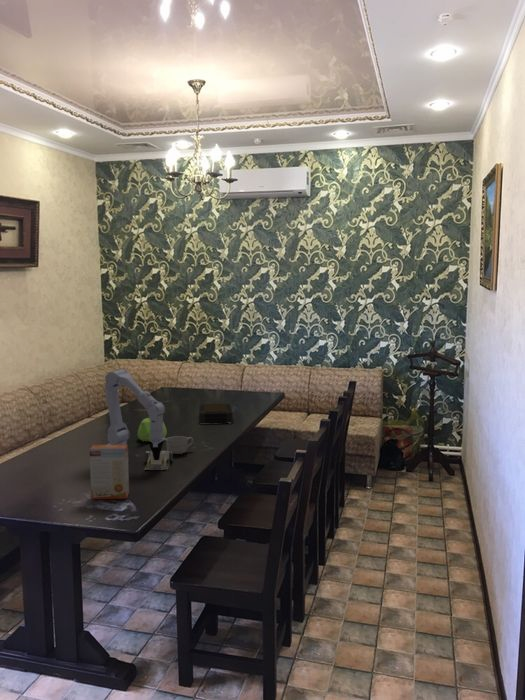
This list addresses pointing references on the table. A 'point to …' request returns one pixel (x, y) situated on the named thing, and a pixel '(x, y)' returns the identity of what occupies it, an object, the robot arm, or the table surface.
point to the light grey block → (157, 460)
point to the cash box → (215, 413)
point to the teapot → (147, 430)
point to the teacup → (178, 444)
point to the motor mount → (166, 457)
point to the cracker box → (109, 471)
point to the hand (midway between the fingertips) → (157, 458)
